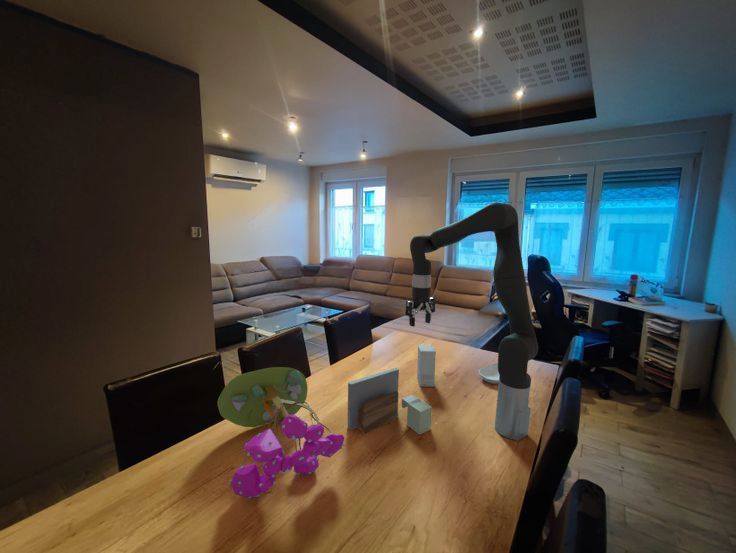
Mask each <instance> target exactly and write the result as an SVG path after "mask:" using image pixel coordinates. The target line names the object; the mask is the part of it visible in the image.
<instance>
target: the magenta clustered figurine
mask: <svg viewBox="0 0 736 553" xmlns="http://www.w3.org/2000/svg"><path fill="white" fill-rule="evenodd" d="M308 397H310V395H308V381H307V379H306V376H305V374H304V373H303V372H301V371H300V370H298V369H295V368H292V367H288V366H287V367H284V366H282V367H281V366H277V367H276V366H274V367H266V368H262V369H257V370H254V371H248V372H245V373H240V374H239V375H236V376H235V377H234V378H231V380H229V381H228V382H227V384H226V385H225V387H224V388H223V390H222V391H221V393H220V395H219V397H218V399H217V408H218V411H219V414H220V416H221V417H222V418H223V419H225V420H227V421H229V422H230V423H232V424H234V425H237V426H240V427H244V428H257V427H260V426H263V425H266V424H269V425H268V427H267V429H266V430H264V431H262V432H259V433H258V434H256V435H254V436H253V437H252V438H251V439H249V440H248V441H247V442H246V443H245V445H244V446H243V450H244V451H245V452H246V453H247V455H246V458H245V459H244V462H243V466H240V467H238V468H237V469H236V470H235V472H234V473H233V476H232V478H231V479H229V484H230V487H231V489H232V490H233V492H234V494H236V495H237V496H238V497H239V496H240V497H246V498H247V499H248V500H250V499H251V498H254V497H255V498H257V497H260V496H261V494H266V493H269V492H270V491H271V490H270V489H271V488H272V487H274V486H275V485H276V481H275V480H276V476H277V475H278V474H279V473H280V472H282V473H283V474H284V475H286V474H287V473H288V471H291V470H293V471H294V473H296V475H297V476H299V475H302V476H308V475H311V474H312V473H313V472H315V471H317V469H318V468H319V465H320V464H319V461H320V459H319V458H318V457H319V456H323V457H326V458H331V457H332V456H333V455H335V454H336V453H337V452H339V451H340V450H342V449H343V447H345V446H346V445H345V443H344V442H345V436H344V435H343V434H339V433H331V430H330V429H329V428H328V427H327V426H326V425H324V424H323V423H321V422H320V420H319V417H318V415H317V413H316V411H314V409H313V408H311V407H310V405H309V403H308V402H307V398H308ZM302 408H303V409H306V410H308V411H309V416H310V420H311V424H310V425H309V424H308V423H307V422H306V421H305V420H303V419H302V418H301V417H300V416H297V415H296V414H297V413H298V412H299V411H300V410H301V409H302ZM281 420H282V421H281ZM313 420H314V422H316V423H317V424H316V423H313ZM280 421H281V427H280V428H281V431H282V434H284V436H286V438H288V439H291V440H293V442H294V448H295V451H294V452H293V453H292V454H287V455H286V453H285V447H284V444H283V443H282V441H281V439H278V438H277V432H278V427H279V424H280ZM272 423H273V424H272ZM271 424H272V426H271ZM325 429H326V430H328V432H329V434H328V435H327V436H325V437H324V433H325ZM303 438H304V439H305V441H304V442H303V444H302V445H303V446H301V439H303ZM297 439H298V444H297ZM298 446H299V449H298ZM249 457H251V459H253V461H255V462H254V463H250V464H247V461H248V459H249ZM257 463H263V465H262V472H263V473H262V474H260V469H259V465H258V464H257Z"/></svg>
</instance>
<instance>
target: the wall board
mask: <svg viewBox="0 0 736 553" xmlns="http://www.w3.org/2000/svg"><path fill="white" fill-rule="evenodd" d="M399 372H400V369H399V368H398V367H394V368H391V369H387V370H385V371H381V372H377V373H375V374H370V375H367V376H365V377H361V378H359V379H355V380H351V381H348V382H347V429H348V430H349V431H352V430H355V429H356V428H358V409H360V408H362V407H363V403H365V402H368V401H370V400H373V399H376V398H379V397H381V396H384V395H387V394H390V393H392V392H395V391H397V392H398V393H399V380H400V379H399V377H400V376H399Z"/></svg>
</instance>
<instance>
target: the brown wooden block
mask: <svg viewBox="0 0 736 553" xmlns="http://www.w3.org/2000/svg"><path fill="white" fill-rule="evenodd" d="M398 413H399V391H398V392H397V391H395V392H392V393H390V394H387V395H384V396H381V397H379V398H376V399H373V400H370V401H368V402H365V403H363V407H362V408H360V409H358V427H357V428H358V429H359V430H360V431H361V432H362V433H363V434H365V433H367V432H371V431H373V430H375V429H377V428H379V427H381V426H384V425H386V424H387V425H388V423H390V422H393V421H396V420H398V418H399V417H398Z"/></svg>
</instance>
